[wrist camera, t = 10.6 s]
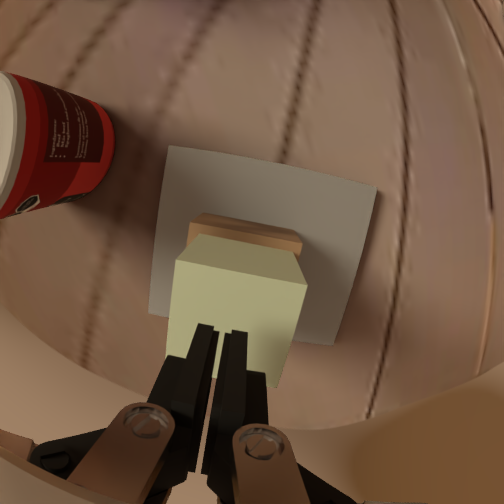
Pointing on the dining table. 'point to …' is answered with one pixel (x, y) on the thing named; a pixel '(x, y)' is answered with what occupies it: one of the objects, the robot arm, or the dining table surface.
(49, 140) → the canned food
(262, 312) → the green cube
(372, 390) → the dining table surface
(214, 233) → the walnut brick
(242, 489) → the robot arm
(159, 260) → the plate
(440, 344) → the dining table surface
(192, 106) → the dining table surface
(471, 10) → the dining table surface
